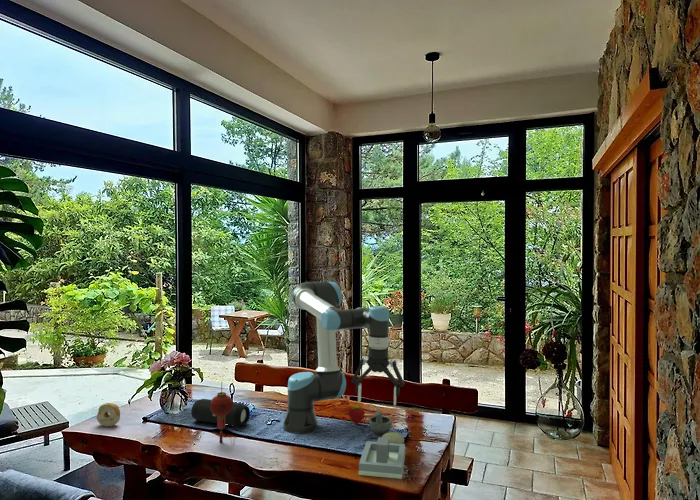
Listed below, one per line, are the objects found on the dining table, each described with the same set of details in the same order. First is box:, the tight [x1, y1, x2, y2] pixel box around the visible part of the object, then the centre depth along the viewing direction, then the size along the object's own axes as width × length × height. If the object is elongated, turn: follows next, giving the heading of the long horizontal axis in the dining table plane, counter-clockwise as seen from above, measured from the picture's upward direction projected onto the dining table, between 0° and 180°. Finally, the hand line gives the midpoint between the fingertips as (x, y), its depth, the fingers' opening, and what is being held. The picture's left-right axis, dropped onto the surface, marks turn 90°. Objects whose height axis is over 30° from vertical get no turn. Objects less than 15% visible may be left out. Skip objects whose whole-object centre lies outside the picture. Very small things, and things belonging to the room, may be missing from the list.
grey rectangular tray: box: [358, 440, 406, 480], centre depth 172 cm, size 15×20×4 cm
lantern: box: [210, 383, 233, 444], centre depth 190 cm, size 10×10×30 cm
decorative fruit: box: [348, 402, 366, 426], centre depth 212 cm, size 6×8×10 cm
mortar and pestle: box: [368, 410, 393, 439], centre depth 198 cm, size 11×9×12 cm
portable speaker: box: [190, 398, 251, 427], centre depth 212 cm, size 26×10×10 cm, turn 72°
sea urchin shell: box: [382, 431, 405, 444], centre depth 189 cm, size 9×8×8 cm
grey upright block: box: [376, 437, 389, 463], centre depth 172 cm, size 4×7×7 cm, turn 170°
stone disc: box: [96, 402, 121, 427], centre depth 208 cm, size 10×4×10 cm, turn 79°
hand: (377, 402), depth 178 cm, fingers open, 13 cm apart
